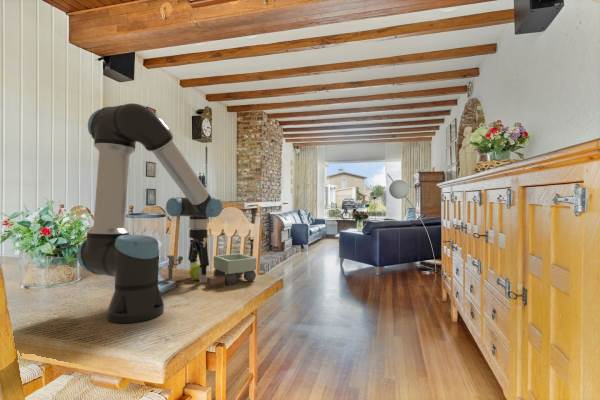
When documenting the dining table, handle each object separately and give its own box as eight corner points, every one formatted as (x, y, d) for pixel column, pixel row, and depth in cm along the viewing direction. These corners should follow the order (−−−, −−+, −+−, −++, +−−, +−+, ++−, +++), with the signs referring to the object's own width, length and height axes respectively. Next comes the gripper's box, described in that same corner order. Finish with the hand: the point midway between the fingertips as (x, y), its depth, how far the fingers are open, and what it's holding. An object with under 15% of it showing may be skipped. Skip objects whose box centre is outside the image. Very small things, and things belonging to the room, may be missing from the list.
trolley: (256, 281, 138) (257, 258, 138) (227, 285, 130) (227, 261, 130) (240, 274, 150) (241, 253, 150) (212, 278, 142) (212, 256, 142)
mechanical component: (180, 279, 139) (180, 256, 139) (157, 279, 139) (157, 256, 139) (183, 278, 142) (183, 255, 142) (160, 277, 142) (160, 255, 142)
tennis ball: (204, 277, 143) (204, 262, 144) (207, 280, 138) (207, 265, 138) (188, 279, 140) (188, 263, 140) (191, 282, 134) (191, 266, 134)
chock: (224, 286, 129) (225, 276, 129) (210, 289, 125) (210, 278, 125) (220, 284, 132) (220, 275, 132) (206, 287, 128) (206, 277, 128)
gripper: (217, 230, 132) (217, 283, 132) (197, 226, 151) (197, 273, 151) (199, 231, 128) (199, 286, 128) (181, 227, 146) (180, 275, 146)
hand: (198, 279), depth 139 cm, fingers open, 11 cm apart
